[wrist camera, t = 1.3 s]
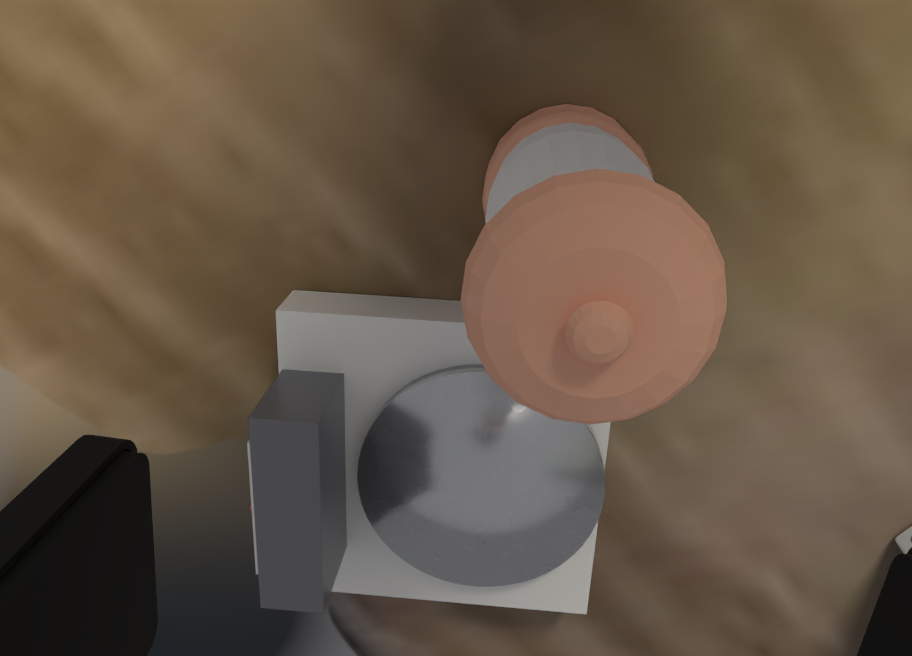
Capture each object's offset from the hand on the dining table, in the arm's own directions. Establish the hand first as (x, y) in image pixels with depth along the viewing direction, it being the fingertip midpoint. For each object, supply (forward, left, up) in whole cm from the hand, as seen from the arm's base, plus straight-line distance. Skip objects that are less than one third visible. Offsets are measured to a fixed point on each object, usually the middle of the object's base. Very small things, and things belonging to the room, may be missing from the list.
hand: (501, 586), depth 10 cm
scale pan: (+1, +14, -25) cm, 29 cm away
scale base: (+3, +14, -28) cm, 32 cm away
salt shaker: (-2, 0, -29) cm, 29 cm away
